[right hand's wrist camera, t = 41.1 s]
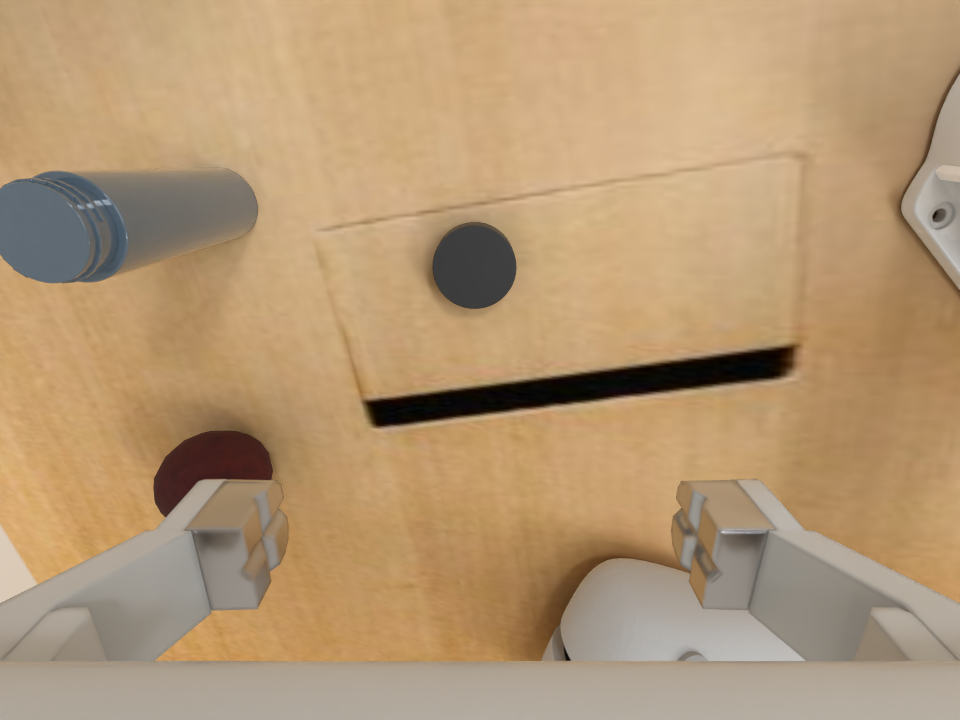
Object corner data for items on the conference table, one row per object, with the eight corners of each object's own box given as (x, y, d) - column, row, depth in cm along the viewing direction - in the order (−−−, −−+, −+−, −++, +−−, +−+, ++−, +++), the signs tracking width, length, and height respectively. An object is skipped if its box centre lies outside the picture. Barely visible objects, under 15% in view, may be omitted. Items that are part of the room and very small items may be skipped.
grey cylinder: (210, 151, 32) (3, 144, 18) (271, 200, 33) (119, 227, 19) (175, 208, 34) (-43, 241, 20) (235, 252, 35) (68, 314, 21)
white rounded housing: (597, 736, 52) (638, 938, 39) (485, 586, 45) (488, 770, 31) (809, 658, 48) (939, 853, 35) (724, 480, 41) (845, 639, 27)
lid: (475, 316, 36) (474, 324, 35) (418, 262, 35) (415, 268, 33) (530, 262, 35) (533, 268, 33) (474, 204, 34) (474, 206, 32)
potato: (170, 448, 40) (109, 504, 33) (237, 393, 38) (187, 441, 32) (239, 509, 42) (195, 574, 36) (307, 460, 40) (273, 518, 34)
